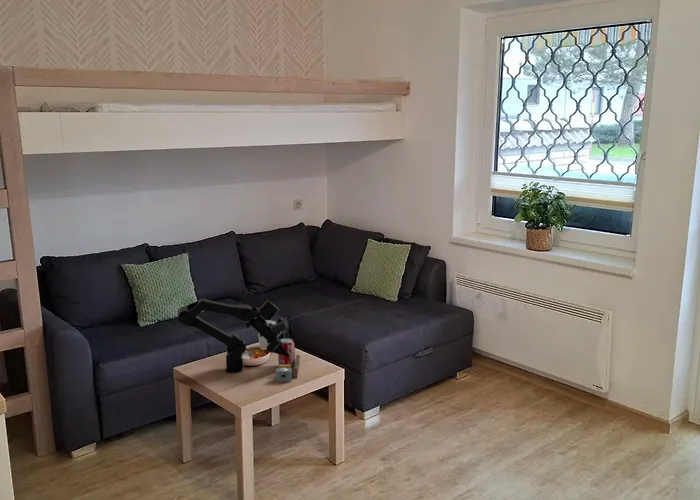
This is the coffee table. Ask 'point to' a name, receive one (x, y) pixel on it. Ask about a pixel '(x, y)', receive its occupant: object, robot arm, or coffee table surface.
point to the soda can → (290, 348)
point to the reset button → (284, 367)
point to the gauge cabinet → (283, 375)
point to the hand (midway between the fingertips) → (289, 351)
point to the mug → (262, 340)
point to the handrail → (296, 366)
